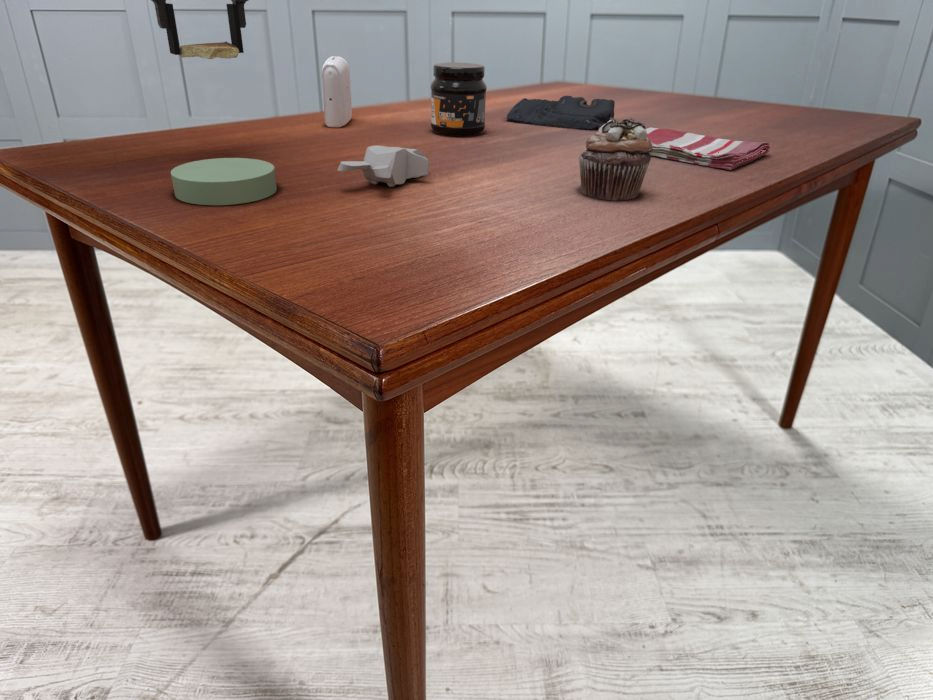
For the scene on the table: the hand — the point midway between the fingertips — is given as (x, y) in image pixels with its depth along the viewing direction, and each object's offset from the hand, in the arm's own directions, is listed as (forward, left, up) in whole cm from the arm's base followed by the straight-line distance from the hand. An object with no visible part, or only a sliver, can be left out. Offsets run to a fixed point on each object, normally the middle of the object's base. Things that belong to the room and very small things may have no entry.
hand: (207, 52), depth 99 cm
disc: (+20, -6, -15) cm, 26 cm away
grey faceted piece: (+27, +15, -15) cm, 35 cm away
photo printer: (-18, +29, -15) cm, 38 cm away
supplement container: (+1, +45, -15) cm, 48 cm away
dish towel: (+35, +71, -15) cm, 81 cm away
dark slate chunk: (+1, +72, -15) cm, 74 cm away
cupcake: (+47, +39, -15) cm, 63 cm away
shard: (0, 0, -1) cm, 1 cm away
